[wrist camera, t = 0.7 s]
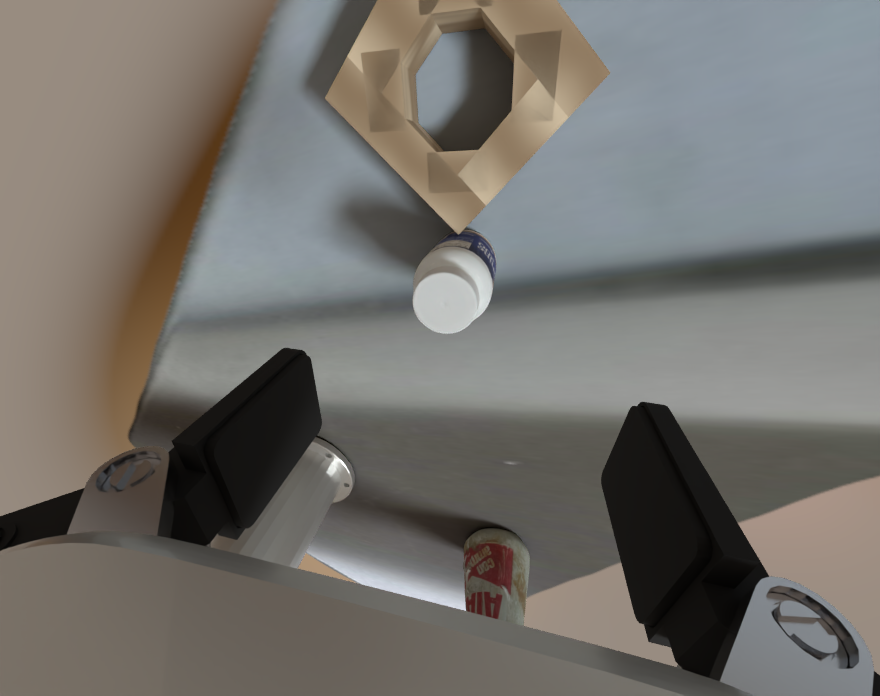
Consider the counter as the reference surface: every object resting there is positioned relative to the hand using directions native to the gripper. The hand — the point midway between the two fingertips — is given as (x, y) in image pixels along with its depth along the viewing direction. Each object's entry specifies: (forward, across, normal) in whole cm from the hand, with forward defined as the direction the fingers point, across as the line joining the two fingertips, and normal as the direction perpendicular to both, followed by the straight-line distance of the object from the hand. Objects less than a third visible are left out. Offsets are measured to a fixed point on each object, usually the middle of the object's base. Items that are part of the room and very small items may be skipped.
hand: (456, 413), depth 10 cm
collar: (+20, +3, -10) cm, 23 cm away
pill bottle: (+21, +2, +1) cm, 21 cm away
